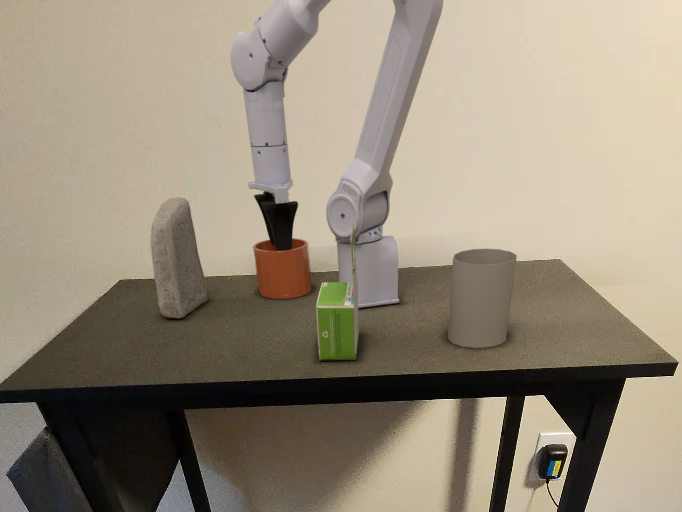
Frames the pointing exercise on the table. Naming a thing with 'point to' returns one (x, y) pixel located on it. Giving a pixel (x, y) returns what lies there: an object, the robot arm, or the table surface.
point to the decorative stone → (176, 260)
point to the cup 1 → (283, 270)
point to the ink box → (338, 317)
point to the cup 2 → (481, 297)
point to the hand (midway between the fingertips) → (280, 248)
